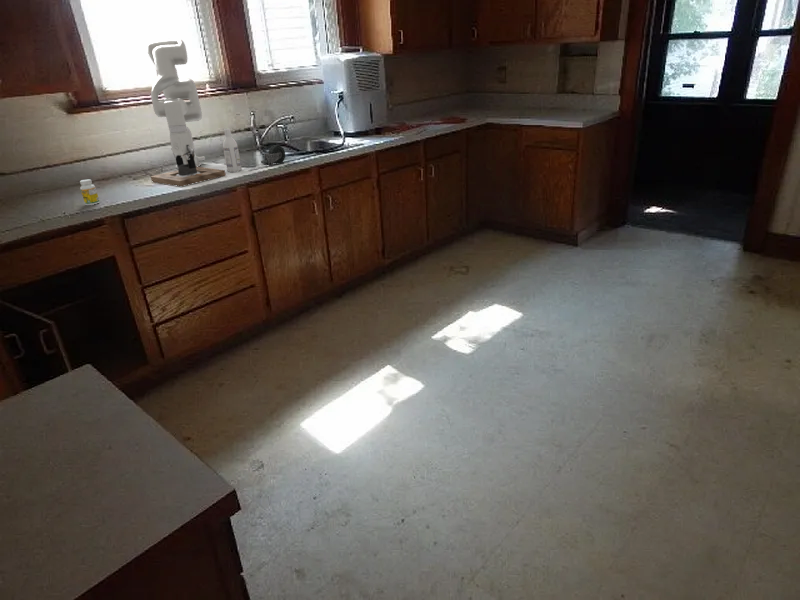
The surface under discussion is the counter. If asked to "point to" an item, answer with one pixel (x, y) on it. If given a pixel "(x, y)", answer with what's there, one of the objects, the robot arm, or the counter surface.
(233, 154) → the bath foam
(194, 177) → the brown wooden square frame
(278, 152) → the caster wheel
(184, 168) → the dial
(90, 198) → the supplement bottle
